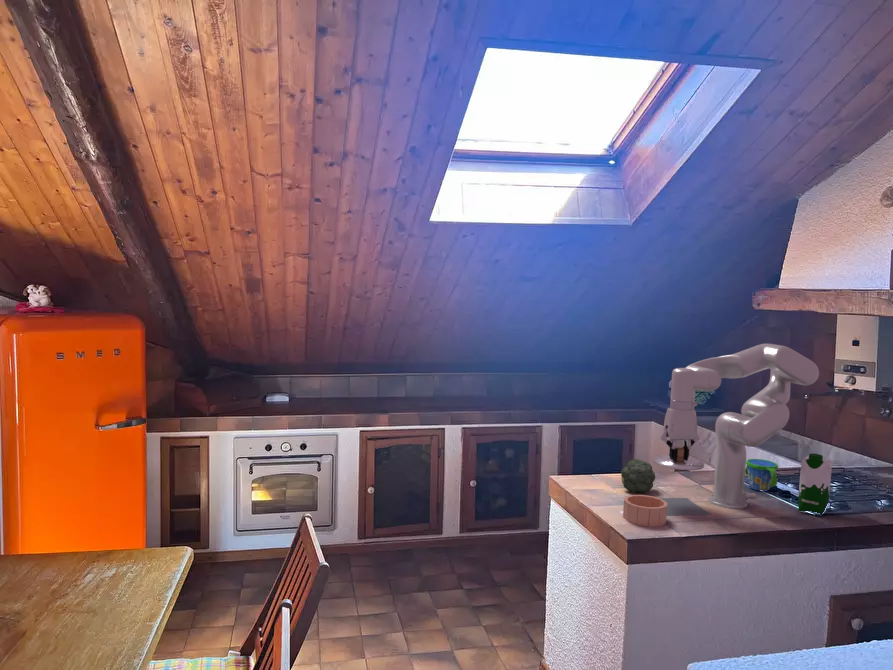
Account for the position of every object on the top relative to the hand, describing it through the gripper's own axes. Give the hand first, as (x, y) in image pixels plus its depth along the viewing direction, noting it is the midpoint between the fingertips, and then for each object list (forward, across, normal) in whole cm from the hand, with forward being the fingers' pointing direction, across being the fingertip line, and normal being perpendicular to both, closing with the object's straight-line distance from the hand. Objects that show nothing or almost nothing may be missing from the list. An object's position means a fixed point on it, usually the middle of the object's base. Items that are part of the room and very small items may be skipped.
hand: (678, 459), depth 234 cm
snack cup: (+17, -43, -18) cm, 49 cm away
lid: (+1, 0, 0) cm, 1 cm away
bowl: (+16, +16, +11) cm, 26 cm away
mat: (+17, 0, 0) cm, 17 cm away
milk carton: (+17, -46, +7) cm, 49 cm away
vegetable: (+17, +6, -19) cm, 26 cm away
